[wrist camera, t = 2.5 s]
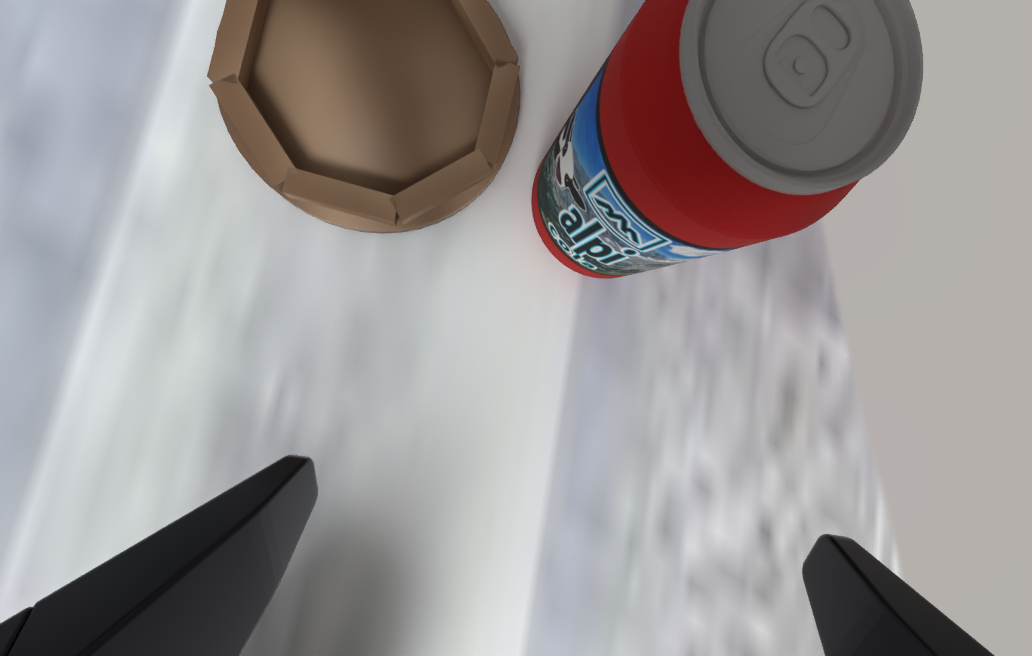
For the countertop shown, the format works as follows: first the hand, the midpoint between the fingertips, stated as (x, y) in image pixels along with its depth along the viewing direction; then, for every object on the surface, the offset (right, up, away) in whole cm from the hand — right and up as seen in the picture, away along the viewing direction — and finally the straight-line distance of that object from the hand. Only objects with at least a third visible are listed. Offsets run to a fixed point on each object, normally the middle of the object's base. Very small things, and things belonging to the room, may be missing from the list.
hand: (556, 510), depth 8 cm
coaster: (-7, +13, +11) cm, 18 cm away
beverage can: (+3, +9, +13) cm, 16 cm away
